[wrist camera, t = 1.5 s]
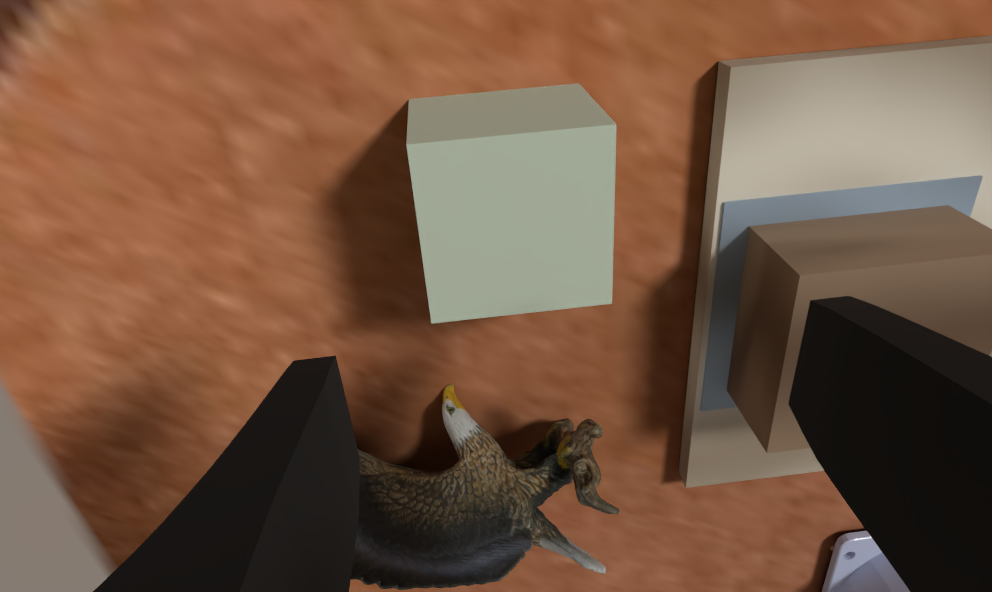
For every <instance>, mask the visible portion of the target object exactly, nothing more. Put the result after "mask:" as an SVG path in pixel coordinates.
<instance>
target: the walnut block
mask: <svg viewBox="0 0 992 592" xmlns="http://www.w3.org/2000/svg"><path fill="white" fill-rule="evenodd" d="M842 296H851V297H854V298H857V299H860V300H863V301H865V302H868V303H870V304H873V305H876V306H878V307H880V308H883V309H885V310H888V311H890V312H892V313H895V314H897V315H899V316H902V317H904V318H906V319H908V320H911V321H913V322H915V323H917V324H920V325H922V326H924V327H926V328H929V329H931V330H933V331H935V332H937V333H940V334H942V335H944V336H946V337H949V338H951V339H953V340H955V341H957V342H960V343H962V344H964V345H966V346H969V347H971V348H973V349H975V350H978V351H980V352H982V353H984V354H987V355H989V356H990V353H991V350H992V229H990V228H989V227H987V226H985V225H983V224H981V223H980V222H978V221H976V220H974V219H973V218H971V217H969V216H967V215H965V214H964V213H962V212H960V211H958V210H956V209H955V208H953V207H951V206H949V205H945V206H935V207H926V208H916V209H907V210H897V211H888V212H879V213H869V214H860V215H850V216H841V217H831V218H822V219H812V220H803V221H793V222H784V223H774V224H765V225H755V226H749V229H748V237H747V244H746V251H745V259H744V266H743V273H742V281H741V288H740V295H739V303H738V310H737V317H736V325H735V332H734V339H733V347H732V354H731V361H730V368H729V376H728V383H727V392H728V393H729V395H730V396H731V398H732V400H733V401H734V403H735V404H736V406H737V407H738V409H739V411H740V412H741V414H742V415H743V417H744V418H745V420H746V422H747V423H748V425H749V426H750V428H751V429H752V431H753V432H754V434H755V436H756V437H757V439H758V440H759V442H760V443H761V445H762V447H763V448H764V450H765V451H766V453H774V452H782V451H790V450H798V449H806V448H810V446H809V444H808V442H807V440H806V438H805V437H804V435H803V433H802V431H801V429H800V427H799V425H798V423H797V420H796V418H795V416H794V414H793V412H792V410H791V408H790V406H789V404H788V403H789V398H790V393H791V388H792V384H793V379H794V374H795V370H796V365H797V360H798V356H799V351H800V346H801V342H802V337H803V332H804V328H805V323H806V318H807V314H808V309H809V304H810V300H817V299H825V298H834V297H842Z"/></svg>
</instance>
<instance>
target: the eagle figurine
mask: <svg viewBox="0 0 992 592" xmlns="http://www.w3.org/2000/svg"><path fill="white" fill-rule="evenodd" d="M442 414H443V421H444V425H445V428H446V430H447V432H448V434H449V436H450V438H451V440H452V442H453V444H454V447H455V450H456V452H457V455H458V457H459V461H458V462H457V463H456V464H454V465H453V466H451V467H450V468H448V469H446V470H443V471H438V472H426V471H421V470H415V469H412V468H408V467H403V466H400V465H397V464H390V463H387V462H385V461H383V460H381V459H378V458H376V457H374V456H372V455H370V454H368V453H366V452H363V451H361V450H359V449H358V453H359V457H360V474H359V521H358V528H357V536H356V543H355V551H354V558H353V565H352V572H351V579H357V580H361V581H362V582H363V583H364V584H366V585H370V584H374V583H377V585H378V586H379V587H380V588H382V589H388V588H396V589H399V590H404V589H412V588H429V587H435V588H444V587H456V586H460V585H467V586H470V585H473V584H486V583H489V582H496V581H500V580H502V579H503V578H504V577H505V576H506V575H508V573H509V572H510V571H511V570H512V569H513V568H514V567H515V566H516V564H517V563H518V562H519V561H520V560H521V559H522V558H524V556H525V552H527V551H529V550H530V549H531V548H532V544H533V545H536V546H539V547H543V548H545V549H548V550H551V551H554V552H556V553H559V554H561V555H563V556H566V557H568V558H570V559H572V560H574V561H576V562H577V563H579V564H580V565H582V566H583V567H584V568H588V569H591V570H592V571H596V572H599V573H604V574H605V573H606V568H605V566H604V565H603V564H602V563H600V562H599V561H598V560H596V559H594V558H593V557H591V556H590V555H589V554H588V553H587V552H586V551H584V550H582V549H581V548H579V547H578V546H577V545H575V544H574V543H572V542H571V541H570V540H569V539H568V538H567V537H565V536H564V535H563V534H561V533H560V531H559V530H558V529H557V527H556V526H555V525H553V524H552V523H551V522H550V521H549V520H548V519H547V518H546V517H545V516H544V514H543V513H542V512H541V511H540V510H539V509H538V508H537V507H538V506H540V505H542V504H543V503H544V501H545V500H546V499H547V498H548V497H550V496H552V494H553V493H554V492H556V491H558V490H559V488H561V487H562V486H564V485H566V484H569V483H571V482H572V479H574V483H575V489H576V494H577V498H578V501H579V502H580V503H581V504H582V505H586V506H590V507H592V508H594V509H597V510H599V511H601V512H604V513H608V514H618V513H619V509H618V508H616V507H614V506H612V505H611V504H609V503H607V502H605V501H604V500H602V499H601V498H600V497H599V495H598V494H597V492H596V489H595V488H596V487H597V486H598V485H599V483H600V480H601V474H600V470H599V467H598V465H597V463H596V461H595V459H594V457H593V454H592V446H593V442H594V438H600V437H601V436H602V433H603V429H602V428H601V426H600V425H598V424H597V423H596V422H594V421H593V420H591V419H586V420H585V421H583V422H581V423H580V425H578V427H577V431H573V423H572V421H571V420H570V419H566V420H563V421H558V422H555V423H553V425H552V426H551V427H550V429H549V430H548V431H547V433H546V435H545V438H544V439H543V440H541V441H540V442H539V443H538V444H537V445H536V446H535V447H534V448H533V449H532V450H531V451H527V452H526V453H524V454H523V455H522V456H520V457H518V458H514V459H508V458H507V456H506V455H505V453H504V452H503V450H502V449H501V448H500V446H499V445H498V443H497V442H496V441H495V440H494V438H493V437H492V436H491V435H490V434H489V433H488V432H486V431H485V430H484V429H483V428H482V427H481V426H479V425H478V424H477V423H476V422H475V421H474V420H473V419H472V418H471V417H470V415H469V414H468V413H467V411H466V410H465V408H464V407H463V405H462V404H461V403H460V402H459V400H458V398H457V396H456V394H455V391H454V386H453V385H447V386H446V387H445V389H444V392H443V404H442Z"/></svg>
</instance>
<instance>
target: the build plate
mask: <svg viewBox="0 0 992 592" xmlns="http://www.w3.org/2000/svg"><path fill="white" fill-rule="evenodd" d="M945 205H949V206H951V207H953V208H955V209H956V210H958V211H960V212H962V213H964V214H965V215H967V216H969V217H971V218H973V219H974V220H976V221H978V222H980V223H981V224H983V225H985V226H987V227H989V228H990V229H992V36H984V37H973V38H963V39H952V40H941V41H930V42H919V43H909V44H898V45H887V46H876V47H865V48H855V49H844V50H833V51H822V52H811V53H801V54H790V55H779V56H768V57H757V58H747V59H736V60H725V61H719V65H718V75H717V85H716V95H715V106H714V116H713V126H712V136H711V147H710V157H709V167H708V177H707V187H706V198H705V208H704V218H703V228H702V238H701V249H700V259H699V269H698V279H697V290H696V300H695V310H694V320H693V330H692V341H691V351H690V361H689V371H688V381H687V392H686V402H685V412H684V422H683V432H682V443H681V453H680V463H679V474H680V476H681V478H682V480H683V483H684V485H685V487H686V488H688V487H696V486H704V485H712V484H720V483H728V482H736V481H744V480H752V479H760V478H768V477H776V476H784V475H792V474H800V473H808V472H816V471H824V469H823V468H822V466H821V465H820V463H819V462H818V460H817V459H816V457H815V455H814V453H813V451H812V449H811V448H806V449H798V450H790V451H782V452H774V453H766V451H765V450H764V448H763V447H762V445H761V443H760V442H759V440H758V439H757V437H756V436H755V434H754V432H753V431H752V429H751V428H750V426H749V425H748V423H747V422H746V420H745V418H744V417H743V415H742V414H741V412H740V411H739V409H738V407H737V406H736V404H735V403H734V401H733V400H732V398H731V396H730V395H729V393H728V392H727V383H728V376H729V368H730V361H731V354H732V347H733V339H734V332H735V325H736V317H737V310H738V303H739V295H740V288H741V281H742V273H743V266H744V259H745V251H746V244H747V237H748V229H749V226H755V225H765V224H774V223H784V222H793V221H803V220H812V219H822V218H831V217H841V216H850V215H860V214H869V213H879V212H888V211H897V210H907V209H916V208H926V207H935V206H945ZM990 356H991V357H992V350H991V353H990Z"/></svg>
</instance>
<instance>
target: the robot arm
mask: <svg viewBox="0 0 992 592" xmlns="http://www.w3.org/2000/svg"><path fill="white" fill-rule="evenodd" d="M788 404H789V406H790V408H791V410H792V412H793V414H794V416H795V418H796V420H797V423H798V425H799V427H800V429H801V431H802V433H803V435H804V437H805V438H806V440H807V442H808V444H809V446H810V448H811V449H812V451H813V453H814V455H815V457H816V459H817V460H818V462H819V463H820V465H821V466H822V468H823V469H824V471H825V472H826V474H827V475H828V477H829V478H830V479H831V481H832V482H833V484H834V485H835V487H836V488H837V489H838V491H839V492H840V494H841V495H842V497H843V498H844V499H845V501H846V502H847V504H848V505H849V507H850V508H851V509H852V511H853V512H854V514H855V515H856V516H857V518H858V519H859V521H860V522H861V523H862V525H863V526H864V528H865V529H866V530H867V531H859V532H851V533H846V534H843V535H842V536H840V537H839V538H838V539H837V541H836V543H835V547H834V550H833V554H832V557H831V561H830V564H829V568H828V571H827V575H826V578H825V582H824V585H823V589H822V592H992V357H991V356H989V355H987V354H984V353H982V352H980V351H978V350H975V349H973V348H971V347H969V346H966V345H964V344H962V343H960V342H957V341H955V340H953V339H951V338H949V337H946V336H944V335H942V334H940V333H937V332H935V331H933V330H931V329H929V328H926V327H924V326H922V325H920V324H917V323H915V322H913V321H911V320H908V319H906V318H904V317H902V316H899V315H897V314H895V313H892V312H890V311H888V310H885V309H883V308H880V307H878V306H876V305H873V304H870V303H868V302H865V301H863V300H860V299H857V298H854V297H851V296H842V297H834V298H825V299H817V300H810V304H809V309H808V314H807V318H806V323H805V328H804V332H803V337H802V342H801V346H800V351H799V356H798V360H797V365H796V370H795V374H794V379H793V384H792V388H791V393H790V398H789V403H788ZM359 474H360V457H359V453H358V449H357V444H356V440H355V436H354V432H353V428H352V423H351V419H350V415H349V411H348V406H347V402H346V398H345V394H344V389H343V385H342V381H341V377H340V372H339V368H338V364H337V360H336V356H330V357H322V358H313V359H305V360H296V361H293V362H292V363H291V365H290V366H289V367H288V368H287V369H286V371H285V372H284V373H283V375H282V376H281V377H280V379H279V380H278V381H277V383H276V384H275V385H274V387H273V388H272V389H271V391H270V392H269V393H268V395H267V396H266V397H265V399H264V400H263V401H262V403H261V404H260V405H259V407H258V408H257V409H256V411H255V412H254V413H253V415H252V416H251V417H250V419H249V420H248V421H247V423H246V424H245V425H244V427H243V428H242V429H241V430H240V432H239V433H238V434H237V435H236V437H235V438H234V439H233V440H232V442H231V443H230V444H229V445H228V447H227V448H226V449H225V450H224V452H223V453H222V454H221V455H220V457H219V458H218V459H217V460H216V462H215V463H214V464H213V465H212V467H211V468H210V469H209V470H208V471H207V473H206V474H205V475H204V476H203V477H202V478H201V480H200V481H199V482H198V483H197V484H196V485H195V486H194V488H193V489H192V490H191V491H190V492H189V493H188V494H187V496H186V497H185V498H184V499H183V500H182V501H181V502H180V504H179V505H178V506H177V507H176V508H175V509H174V510H173V511H172V513H171V514H170V515H169V516H168V517H167V518H166V519H165V521H164V522H163V523H162V524H161V525H160V526H159V527H158V528H157V529H156V530H155V531H154V532H153V533H152V534H151V535H150V536H149V538H148V539H147V540H146V541H145V542H144V543H143V544H142V545H141V546H140V547H139V548H138V549H137V550H136V551H135V552H134V553H133V554H132V555H131V556H130V557H129V558H128V559H127V560H126V561H125V562H124V563H122V564H121V565H120V566H119V567H118V568H117V569H116V570H115V571H114V572H113V573H112V574H111V575H110V576H109V577H108V578H107V579H106V580H105V581H104V582H103V583H102V584H101V585H100V586H99V587H98V588H97V589H95V590H94V591H93V592H349V586H350V579H351V572H352V565H353V558H354V551H355V543H356V536H357V528H358V521H359Z"/></svg>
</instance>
